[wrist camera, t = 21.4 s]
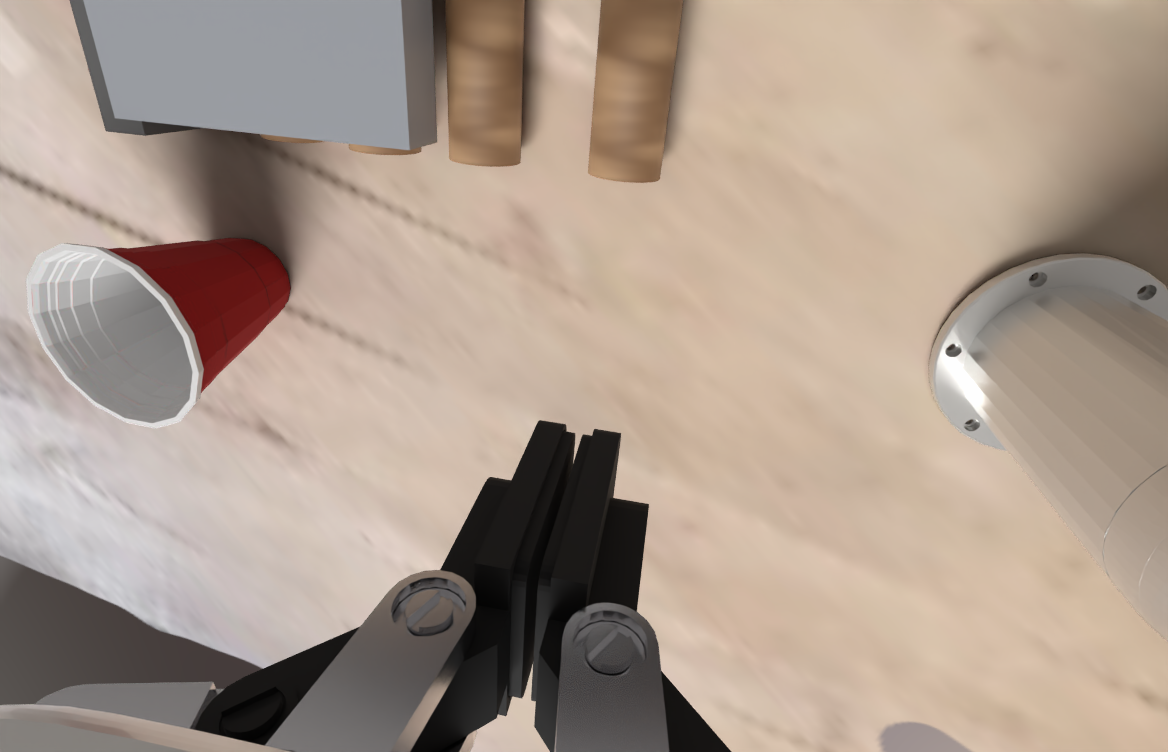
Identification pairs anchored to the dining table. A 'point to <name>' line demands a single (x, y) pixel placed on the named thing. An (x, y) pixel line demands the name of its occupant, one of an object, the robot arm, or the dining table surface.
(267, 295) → the plastic cup
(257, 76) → the slab
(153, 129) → the block
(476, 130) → the roller bed
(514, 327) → the dining table surface
